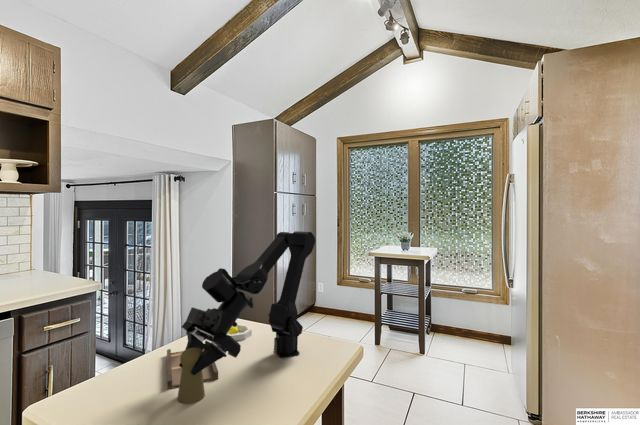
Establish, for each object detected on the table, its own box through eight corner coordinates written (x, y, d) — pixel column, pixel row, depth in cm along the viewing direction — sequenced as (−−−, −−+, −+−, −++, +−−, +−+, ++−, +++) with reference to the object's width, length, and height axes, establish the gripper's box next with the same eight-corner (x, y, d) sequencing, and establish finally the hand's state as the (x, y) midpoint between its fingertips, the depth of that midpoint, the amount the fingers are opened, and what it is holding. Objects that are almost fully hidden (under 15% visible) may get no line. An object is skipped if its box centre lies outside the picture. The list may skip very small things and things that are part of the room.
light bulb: (239, 335, 114) (238, 327, 112) (223, 342, 111) (221, 334, 110) (237, 329, 116) (235, 322, 115) (221, 336, 114) (219, 329, 112)
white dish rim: (246, 327, 121) (246, 322, 121) (254, 338, 111) (254, 332, 111) (215, 332, 116) (215, 326, 116) (220, 343, 106) (220, 337, 106)
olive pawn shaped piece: (171, 402, 71) (172, 353, 72) (186, 388, 77) (188, 343, 78) (195, 405, 70) (197, 356, 71) (209, 391, 76) (210, 345, 77)
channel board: (208, 348, 101) (208, 343, 101) (218, 378, 82) (218, 371, 82) (166, 355, 96) (167, 349, 96) (167, 389, 77) (167, 381, 77)
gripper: (189, 288, 83) (144, 342, 75) (231, 300, 71) (182, 366, 63) (215, 312, 89) (176, 364, 80) (257, 327, 77) (216, 390, 69)
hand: (186, 370), depth 73 cm, fingers closed on olive pawn shaped piece, 5 cm apart
